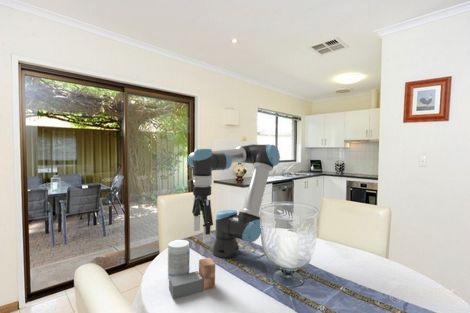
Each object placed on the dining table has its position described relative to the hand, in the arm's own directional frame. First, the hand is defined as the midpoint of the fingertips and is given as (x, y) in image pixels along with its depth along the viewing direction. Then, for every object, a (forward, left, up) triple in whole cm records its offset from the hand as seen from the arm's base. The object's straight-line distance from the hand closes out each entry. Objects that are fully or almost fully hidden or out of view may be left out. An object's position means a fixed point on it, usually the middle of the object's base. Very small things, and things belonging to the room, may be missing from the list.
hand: (201, 235), depth 99 cm
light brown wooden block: (-2, +1, -21) cm, 21 cm away
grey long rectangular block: (+7, +1, -21) cm, 22 cm away
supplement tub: (+6, -11, -21) cm, 25 cm away
